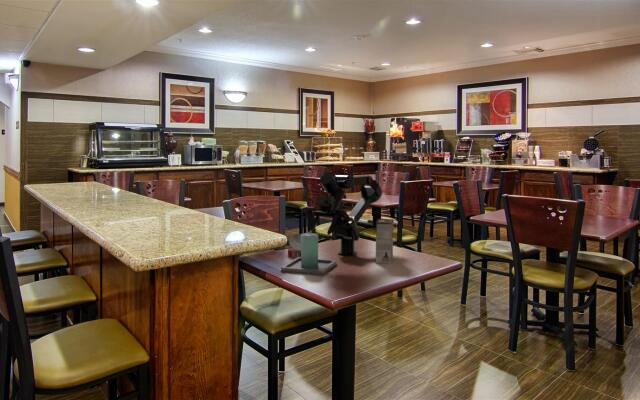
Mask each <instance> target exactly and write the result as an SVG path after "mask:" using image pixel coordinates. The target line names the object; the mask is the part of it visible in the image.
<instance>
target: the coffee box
mask: <svg viewBox="0 0 640 400" xmlns="http://www.w3.org/2000/svg"><path fill="white" fill-rule="evenodd" d="M393 253H394V218H377V220H376V221H375V263H376V264H392V263H393V259H394V256H393V255H394V254H393Z"/></svg>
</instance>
